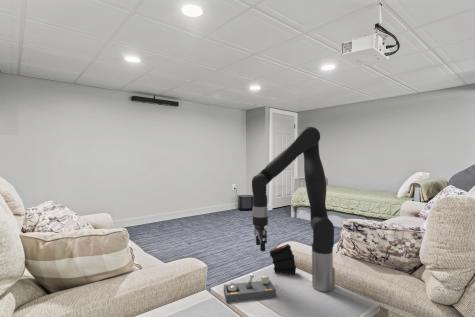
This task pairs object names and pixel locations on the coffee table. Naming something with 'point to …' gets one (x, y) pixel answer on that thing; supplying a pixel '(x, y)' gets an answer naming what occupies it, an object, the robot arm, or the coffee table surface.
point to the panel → (250, 291)
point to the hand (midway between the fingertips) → (260, 247)
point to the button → (232, 288)
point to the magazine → (283, 260)
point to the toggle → (251, 278)
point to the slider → (265, 279)
